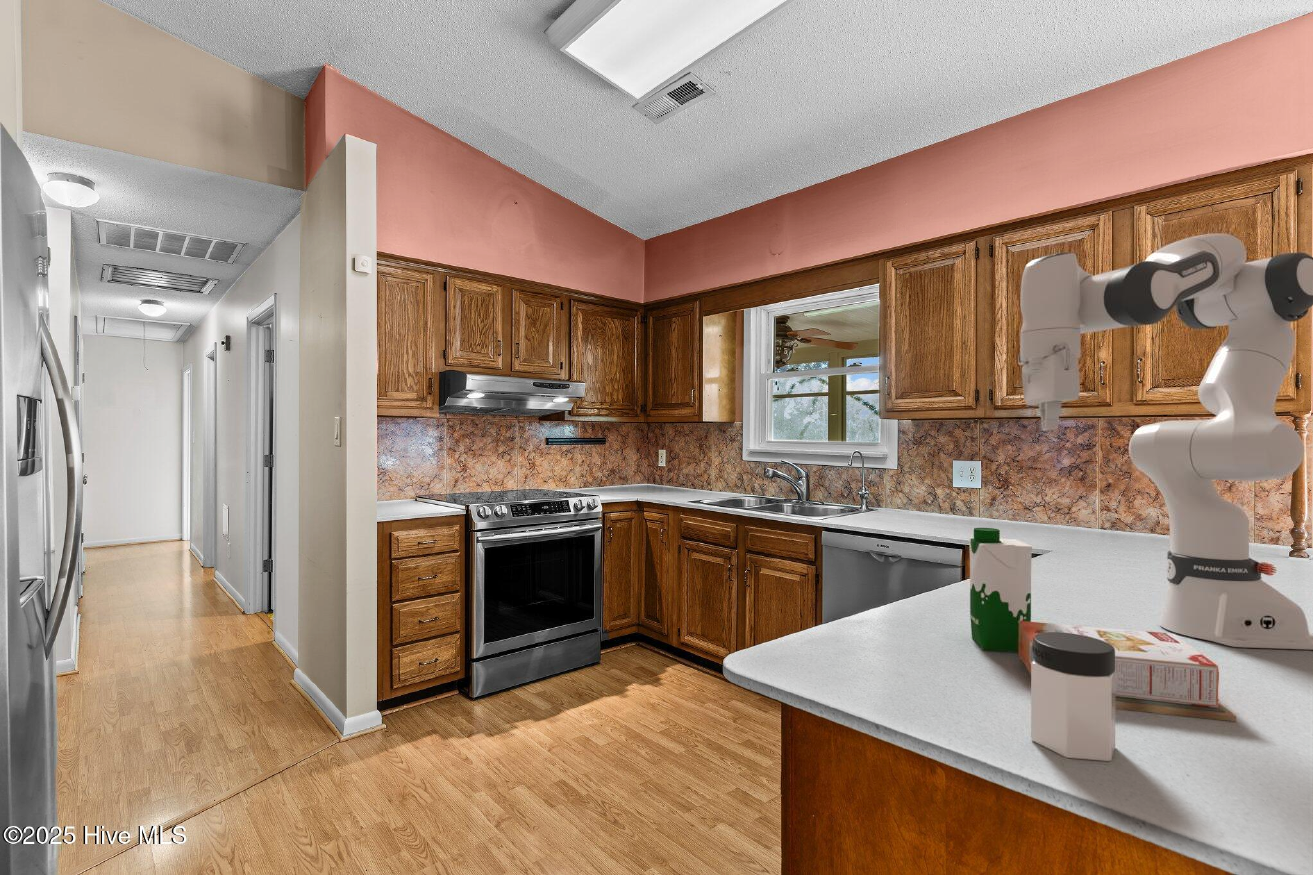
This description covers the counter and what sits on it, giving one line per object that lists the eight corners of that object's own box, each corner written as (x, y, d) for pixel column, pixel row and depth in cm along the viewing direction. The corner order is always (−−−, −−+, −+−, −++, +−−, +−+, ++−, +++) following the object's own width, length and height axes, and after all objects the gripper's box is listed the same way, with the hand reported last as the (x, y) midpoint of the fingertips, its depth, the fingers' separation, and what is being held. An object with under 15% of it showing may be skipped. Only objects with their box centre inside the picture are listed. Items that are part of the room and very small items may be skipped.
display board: (1171, 671, 99) (1171, 666, 99) (1236, 721, 82) (1236, 714, 82) (1024, 658, 105) (1024, 652, 105) (1055, 701, 88) (1055, 695, 88)
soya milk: (964, 636, 117) (965, 525, 117) (1019, 639, 115) (1019, 526, 115) (978, 652, 108) (979, 532, 108) (1038, 655, 106) (1038, 534, 106)
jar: (1039, 721, 82) (1040, 626, 82) (1118, 740, 77) (1118, 639, 77) (1025, 747, 75) (1025, 644, 75) (1110, 770, 70) (1110, 659, 70)
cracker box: (1017, 617, 103) (1175, 632, 97) (1017, 655, 104) (1174, 672, 97) (1037, 645, 90) (1222, 664, 83) (1036, 688, 90) (1221, 711, 83)
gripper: (1091, 339, 100) (1091, 429, 100) (1054, 355, 119) (1054, 430, 119) (1045, 341, 102) (1045, 429, 102) (1016, 356, 121) (1016, 430, 121)
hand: (1049, 430), depth 111 cm, fingers closed
